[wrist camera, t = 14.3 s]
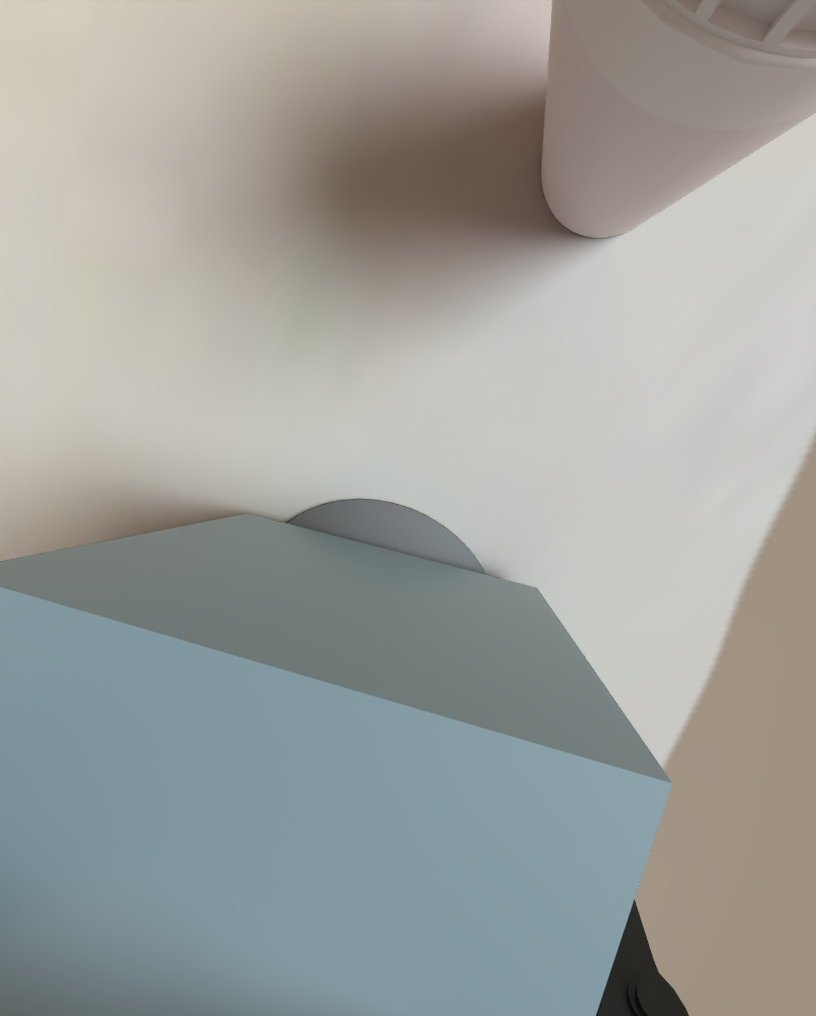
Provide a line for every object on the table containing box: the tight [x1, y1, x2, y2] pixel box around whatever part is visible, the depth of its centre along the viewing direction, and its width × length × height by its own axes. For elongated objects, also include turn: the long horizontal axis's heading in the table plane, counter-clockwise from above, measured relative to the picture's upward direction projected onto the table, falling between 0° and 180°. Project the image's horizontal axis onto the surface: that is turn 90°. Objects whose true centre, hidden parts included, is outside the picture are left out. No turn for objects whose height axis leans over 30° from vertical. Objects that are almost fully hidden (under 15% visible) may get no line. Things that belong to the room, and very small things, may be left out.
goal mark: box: [287, 499, 486, 575], centre depth 16 cm, size 10×10×1 cm
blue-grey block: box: [0, 514, 672, 1016], centre depth 11 cm, size 10×10×9 cm
